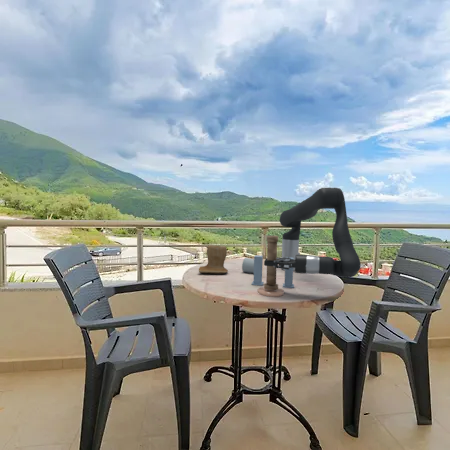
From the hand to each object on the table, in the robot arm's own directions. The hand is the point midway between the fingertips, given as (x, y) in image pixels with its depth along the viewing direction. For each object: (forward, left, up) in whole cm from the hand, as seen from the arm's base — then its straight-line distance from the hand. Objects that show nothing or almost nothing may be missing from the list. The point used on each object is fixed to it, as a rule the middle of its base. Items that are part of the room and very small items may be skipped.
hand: (265, 261), depth 136 cm
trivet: (-2, +2, -13) cm, 13 cm away
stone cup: (+4, -41, -13) cm, 43 cm away
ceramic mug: (-16, -35, -13) cm, 41 cm away
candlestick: (-2, +2, -11) cm, 11 cm away
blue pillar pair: (-10, -8, -13) cm, 18 cm away
